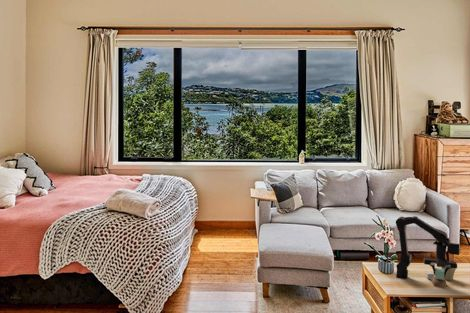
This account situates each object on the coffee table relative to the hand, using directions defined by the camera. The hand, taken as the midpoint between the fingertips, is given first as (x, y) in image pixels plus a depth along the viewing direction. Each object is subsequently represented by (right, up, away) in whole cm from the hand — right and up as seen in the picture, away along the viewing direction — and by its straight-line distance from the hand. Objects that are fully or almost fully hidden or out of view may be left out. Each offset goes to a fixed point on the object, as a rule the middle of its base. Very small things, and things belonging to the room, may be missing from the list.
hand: (439, 275), depth 272 cm
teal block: (0, -1, 0) cm, 1 cm away
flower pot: (+10, -5, +10) cm, 15 cm away
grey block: (-2, -5, +10) cm, 11 cm away
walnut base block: (0, -6, +1) cm, 6 cm away
